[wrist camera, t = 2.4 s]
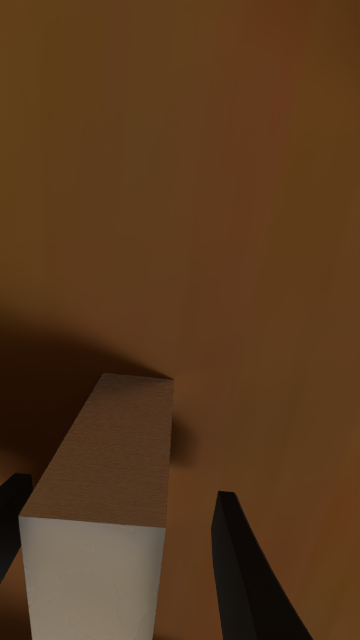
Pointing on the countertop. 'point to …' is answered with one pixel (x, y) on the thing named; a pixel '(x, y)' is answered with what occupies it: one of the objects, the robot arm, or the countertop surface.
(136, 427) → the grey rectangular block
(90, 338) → the countertop surface
